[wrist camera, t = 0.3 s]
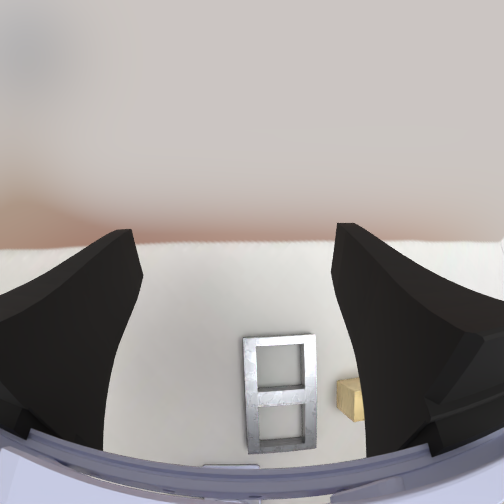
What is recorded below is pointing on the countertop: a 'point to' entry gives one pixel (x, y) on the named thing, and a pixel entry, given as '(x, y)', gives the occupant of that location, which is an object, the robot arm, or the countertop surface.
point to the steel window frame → (281, 394)
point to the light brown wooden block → (350, 399)
